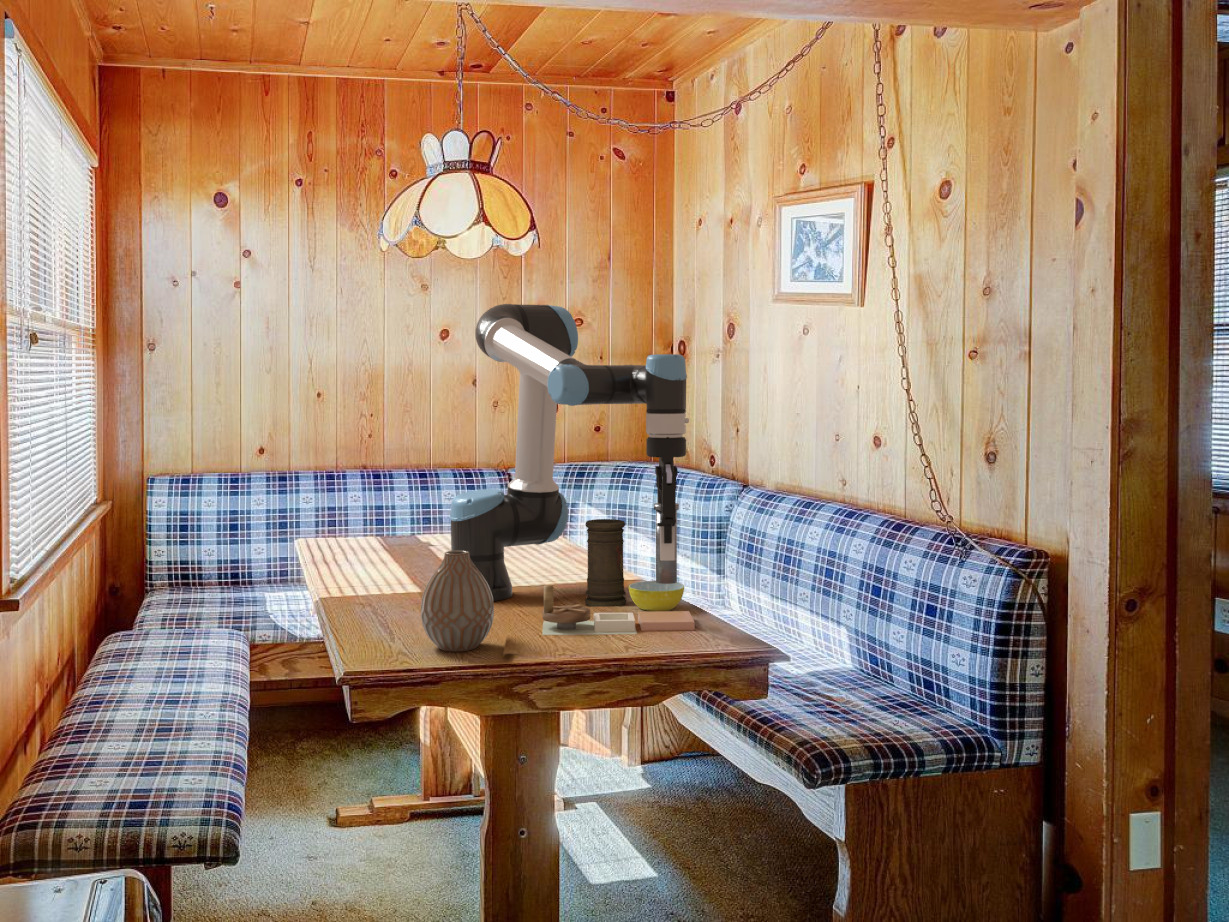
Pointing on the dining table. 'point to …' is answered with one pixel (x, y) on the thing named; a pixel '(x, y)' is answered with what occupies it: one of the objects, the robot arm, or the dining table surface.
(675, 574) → the metal flanged cylinder
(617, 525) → the container
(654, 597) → the bowl
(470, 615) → the vase
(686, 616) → the rest tile
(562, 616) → the handwheel
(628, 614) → the plate
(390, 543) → the dining table surface
